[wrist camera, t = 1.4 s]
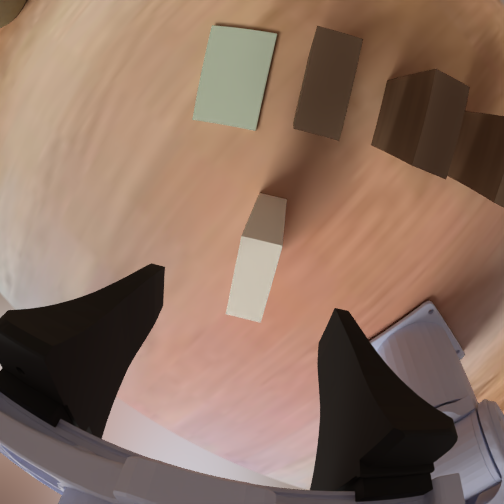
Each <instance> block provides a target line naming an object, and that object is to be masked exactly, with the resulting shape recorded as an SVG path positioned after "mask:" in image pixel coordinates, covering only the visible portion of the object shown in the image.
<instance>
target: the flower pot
mask: <svg viewBox="0 0 504 504" xmlns="http://www.w3.org/2000/svg"><path fill="white" fill-rule="evenodd" d="M25 2H26V0H0V28H2V27H3V26H5V25H7V24H8V23H10V22H11V21H12V20H13V19H14V18H15V17H16V16H17V15H18V14H19V12H20V11H21V9H22V8H23V6H24V4H25Z"/></svg>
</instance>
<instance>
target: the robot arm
mask: <svg viewBox="0 0 504 504" xmlns="http://www.w3.org/2000/svg"><path fill="white" fill-rule="evenodd" d="M164 273H165V267H163V266H159V265H155V264H149V265H147V266H145V267H144V268H142V269H140V270H138V271H136V272H134V273H132V274H131V275H129V276H127V277H125V278H123V279H121V280H119V281H117V282H115V283H113V284H111V285H109V286H107V287H105V288H102V289H100V290H98V291H96V292H93V293H91V294H88V295H85V296H83V297H80V298H77V299H74V300H70V301H66V302H63V303H59V304H55V305H50V306H45V307H39V308H32V309H21V310H8V311H7V312H6V313H5V314H4V315H3V316H2V317H1V318H0V364H1V366H2V370H1V371H0V452H1V453H2V454H3V455H5V456H6V457H7V458H8V459H10V460H11V461H12V462H14V463H15V464H16V465H17V466H19V467H20V468H21V469H23V470H24V471H26V472H27V473H28V474H30V475H31V476H33V477H34V478H36V479H37V480H39V481H40V482H42V483H43V484H45V485H46V486H48V487H49V488H51V489H53V490H54V491H56V492H58V493H59V494H61V495H62V496H61V498H60V501H59V503H58V504H504V415H503V413H502V411H501V409H500V408H499V406H498V405H497V403H496V402H494V401H488V400H487V399H484V400H483V401H482V402H480V403H478V402H477V399H476V397H475V394H474V392H473V389H472V387H471V385H470V382H469V380H468V378H467V375H466V373H465V371H464V369H463V366H462V364H461V362H460V359H462V358H463V357H464V355H465V353H464V351H463V350H462V348H461V346H460V345H459V343H458V341H457V340H456V338H455V336H454V335H453V333H452V332H451V330H450V328H449V327H448V325H447V324H446V322H445V321H444V319H443V318H442V316H441V315H440V313H439V312H438V310H437V309H436V307H435V306H434V304H433V303H432V302H431V301H426V302H425V303H423V304H422V305H421V306H419V307H418V308H417V309H415V310H414V311H413V312H411V313H410V314H408V315H407V316H406V317H404V318H403V319H401V320H400V321H399V322H397V323H396V324H394V325H393V326H391V327H390V328H389V329H387V330H386V331H384V332H383V333H381V334H380V335H378V336H377V337H375V338H374V339H372V340H371V341H369V340H368V339H367V337H366V336H365V334H364V333H363V331H362V330H361V329H360V327H359V326H358V324H357V323H356V321H355V320H354V318H353V317H352V315H351V314H350V313H349V311H346V310H341V309H337V308H335V309H334V311H333V313H332V316H331V318H330V320H329V322H328V324H327V327H326V329H325V331H324V333H323V335H322V337H321V340H320V342H319V347H318V380H319V394H320V426H319V438H318V446H317V454H316V461H315V467H314V473H313V478H312V483H311V488H310V490H298V489H287V488H277V487H269V486H262V485H255V484H250V483H246V482H240V481H235V480H230V479H225V478H220V477H216V476H212V475H207V474H203V473H199V472H195V471H192V470H188V469H184V468H181V467H177V466H174V465H171V464H167V463H164V462H161V461H158V460H154V459H151V458H148V457H145V456H142V455H139V454H137V453H134V452H132V451H129V450H126V449H124V448H121V447H119V446H116V445H114V444H112V443H109V442H107V441H105V440H102V435H103V432H104V429H105V425H106V422H107V419H108V416H109V414H110V411H111V408H112V405H113V402H114V400H115V397H116V395H117V392H118V390H119V387H120V385H121V383H122V380H123V378H124V376H125V374H126V371H127V369H128V367H129V365H130V364H131V362H132V360H133V358H134V357H135V355H136V353H137V352H138V350H139V349H140V347H141V345H142V344H143V342H144V341H145V339H146V337H147V336H148V334H149V332H150V331H151V329H152V328H153V326H154V324H155V322H156V320H157V318H158V316H159V313H160V311H161V309H162V307H163V294H164ZM431 309H432V310H431ZM429 310H431V311H429Z"/></svg>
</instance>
